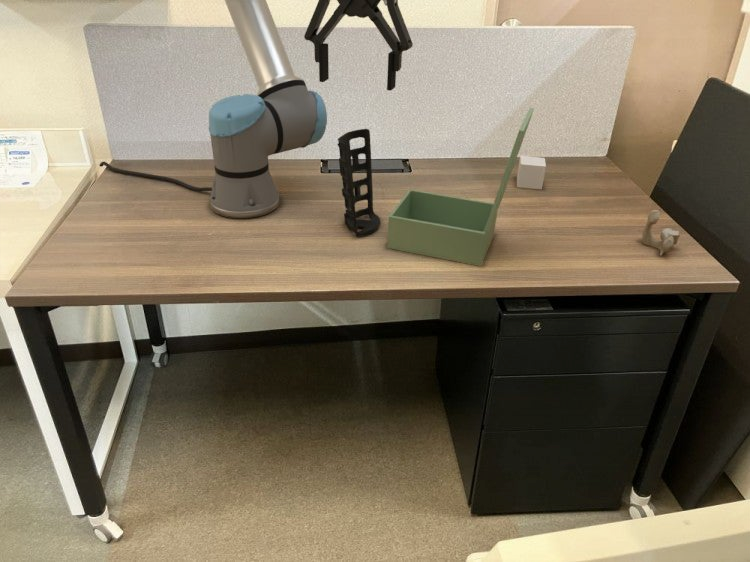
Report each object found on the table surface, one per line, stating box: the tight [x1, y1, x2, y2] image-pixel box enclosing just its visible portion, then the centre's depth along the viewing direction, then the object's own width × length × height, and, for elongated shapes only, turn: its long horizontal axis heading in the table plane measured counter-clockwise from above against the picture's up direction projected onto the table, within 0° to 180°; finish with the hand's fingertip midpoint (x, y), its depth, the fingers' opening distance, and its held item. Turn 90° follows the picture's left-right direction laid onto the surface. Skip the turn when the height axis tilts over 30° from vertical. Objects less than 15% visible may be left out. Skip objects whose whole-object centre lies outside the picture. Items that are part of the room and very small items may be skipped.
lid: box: [484, 107, 535, 232], centre depth 112 cm, size 20×14×1 cm
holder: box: [336, 128, 381, 238], centre depth 124 cm, size 11×8×20 cm
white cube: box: [516, 155, 547, 190], centre depth 150 cm, size 6×6×6 cm
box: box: [386, 189, 499, 267], centre depth 123 cm, size 19×14×7 cm
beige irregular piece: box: [641, 209, 681, 257], centre depth 122 cm, size 9×6×10 cm
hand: (357, 84), depth 114 cm, fingers open, 13 cm apart
